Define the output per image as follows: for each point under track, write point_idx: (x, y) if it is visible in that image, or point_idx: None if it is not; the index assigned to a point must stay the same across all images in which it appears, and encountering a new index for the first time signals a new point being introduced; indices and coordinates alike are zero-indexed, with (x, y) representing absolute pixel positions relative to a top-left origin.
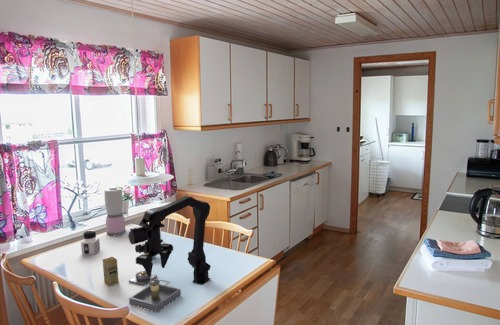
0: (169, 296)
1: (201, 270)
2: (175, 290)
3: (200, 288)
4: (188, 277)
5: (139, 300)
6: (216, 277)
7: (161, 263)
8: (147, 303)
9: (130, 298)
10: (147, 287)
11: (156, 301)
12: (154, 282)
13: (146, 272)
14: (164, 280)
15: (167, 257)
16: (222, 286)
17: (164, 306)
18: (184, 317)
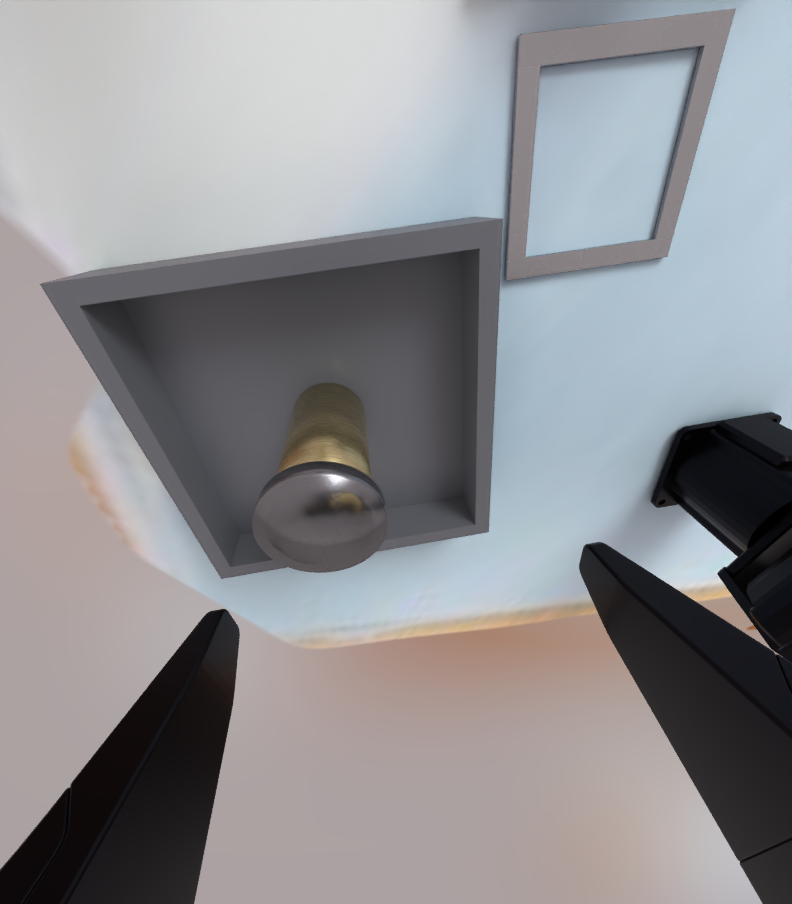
0: None
1: (732, 590)
2: (471, 498)
3: (599, 517)
4: (768, 339)
5: (135, 432)
6: None
7: (645, 614)
8: (181, 507)
9: (57, 309)
10: (366, 262)
11: None
12: (306, 545)
13: (142, 695)
14: (685, 163)
15: (759, 869)
16: None
17: None
18: (309, 634)
